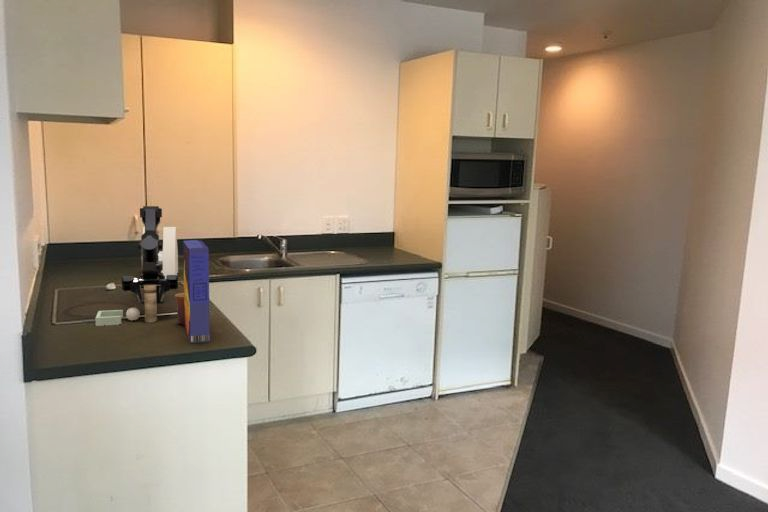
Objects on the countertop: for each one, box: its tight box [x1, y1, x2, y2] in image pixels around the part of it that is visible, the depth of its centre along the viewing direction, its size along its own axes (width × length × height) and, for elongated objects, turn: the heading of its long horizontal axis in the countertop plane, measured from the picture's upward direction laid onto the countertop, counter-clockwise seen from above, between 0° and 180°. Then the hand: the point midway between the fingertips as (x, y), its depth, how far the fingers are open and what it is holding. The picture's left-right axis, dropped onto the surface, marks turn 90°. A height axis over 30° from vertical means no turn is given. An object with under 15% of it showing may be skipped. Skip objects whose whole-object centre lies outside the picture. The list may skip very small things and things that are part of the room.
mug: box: [174, 292, 185, 326], centre depth 215 cm, size 12×9×10 cm
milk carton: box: [142, 226, 179, 279], centre depth 308 cm, size 19×15×25 cm
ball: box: [125, 307, 141, 322], centre depth 216 cm, size 5×5×5 cm
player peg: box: [143, 284, 158, 323], centre depth 215 cm, size 4×4×13 cm
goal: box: [95, 309, 124, 327], centre depth 214 cm, size 11×8×3 cm
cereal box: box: [182, 239, 211, 344], centre depth 199 cm, size 22×6×30 cm, turn 22°
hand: (150, 302), depth 214 cm, fingers open, 6 cm apart
